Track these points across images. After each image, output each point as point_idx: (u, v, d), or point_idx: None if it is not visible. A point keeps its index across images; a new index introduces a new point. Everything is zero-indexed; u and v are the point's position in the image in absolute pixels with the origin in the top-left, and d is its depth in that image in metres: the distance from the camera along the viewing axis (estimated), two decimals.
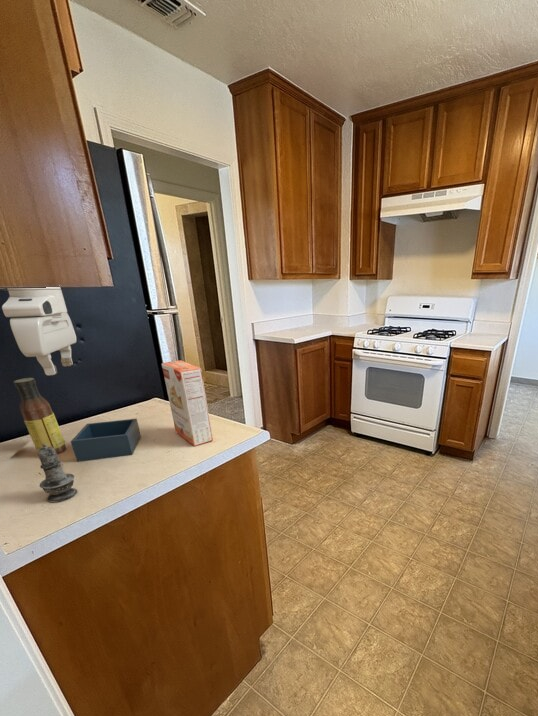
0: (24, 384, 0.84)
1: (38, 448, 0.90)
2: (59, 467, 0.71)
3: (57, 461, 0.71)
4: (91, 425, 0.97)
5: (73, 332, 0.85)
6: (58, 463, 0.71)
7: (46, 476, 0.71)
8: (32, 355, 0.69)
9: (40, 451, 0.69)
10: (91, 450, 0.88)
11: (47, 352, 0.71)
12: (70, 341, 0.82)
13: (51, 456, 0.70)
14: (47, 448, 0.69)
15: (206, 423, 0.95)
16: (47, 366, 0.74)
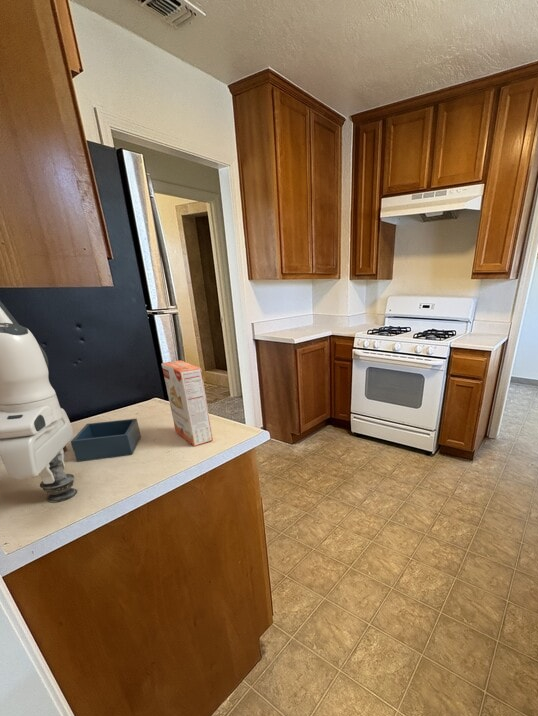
0: None
1: None
2: (59, 467, 0.71)
3: (57, 461, 0.71)
4: (91, 425, 0.97)
5: (70, 427, 0.78)
6: (58, 463, 0.71)
7: None
8: (22, 478, 0.62)
9: None
10: (91, 450, 0.88)
11: (39, 471, 0.63)
12: (66, 441, 0.75)
13: None
14: None
15: (206, 423, 0.95)
16: (45, 475, 0.68)
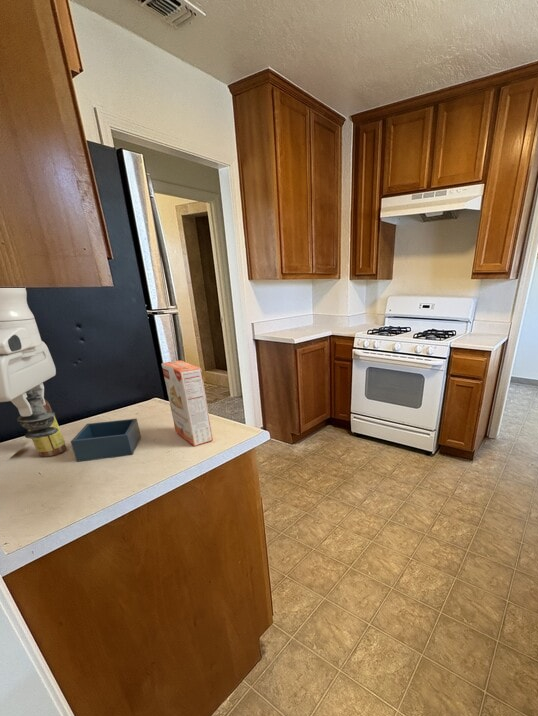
0: None
1: (38, 448, 0.90)
2: (38, 401, 0.67)
3: (36, 394, 0.66)
4: (91, 425, 0.97)
5: (52, 364, 0.73)
6: (37, 396, 0.66)
7: None
8: None
9: None
10: (91, 450, 0.88)
11: (14, 396, 0.59)
12: (47, 376, 0.70)
13: None
14: None
15: (206, 423, 0.95)
16: (22, 406, 0.64)
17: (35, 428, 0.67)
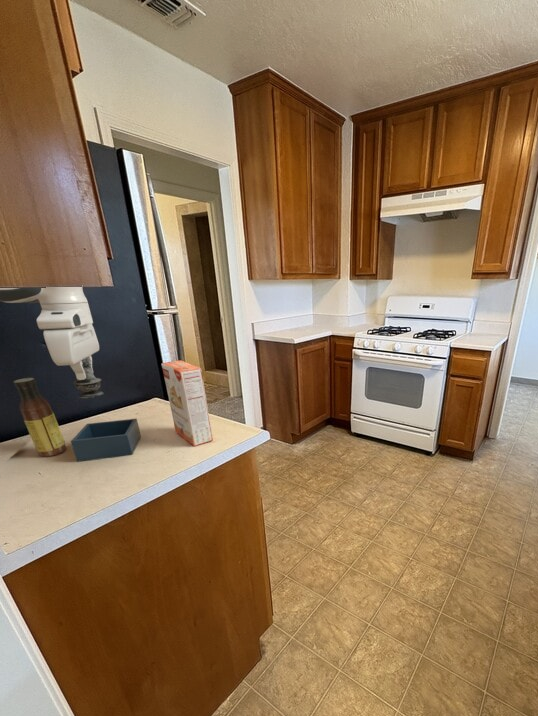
0: (24, 384, 0.84)
1: (38, 448, 0.90)
2: (89, 368, 0.84)
3: (88, 362, 0.84)
4: (91, 425, 0.97)
5: (97, 341, 0.91)
6: (89, 364, 0.84)
7: None
8: (63, 364, 0.75)
9: None
10: (91, 450, 0.88)
11: (76, 361, 0.76)
12: (94, 350, 0.88)
13: None
14: None
15: (206, 423, 0.95)
16: (79, 371, 0.81)
17: (87, 390, 0.84)
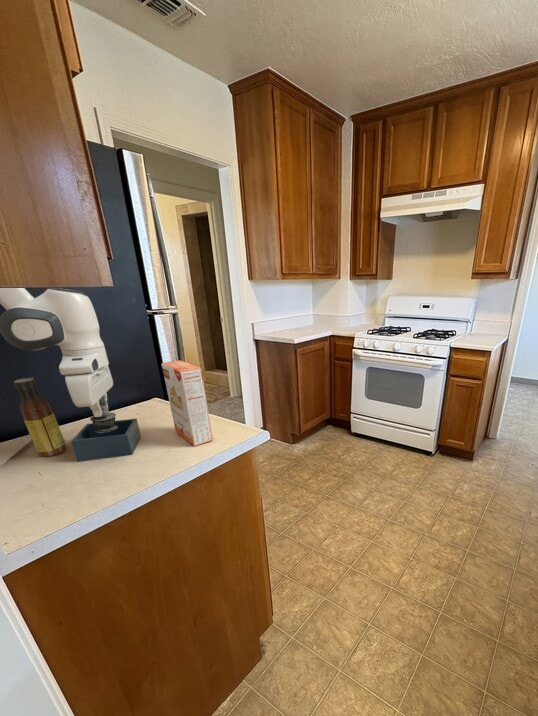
0: (24, 384, 0.84)
1: (38, 448, 0.90)
2: (105, 405, 0.90)
3: (104, 400, 0.90)
4: (91, 425, 0.97)
5: (111, 377, 0.97)
6: (104, 402, 0.90)
7: None
8: (83, 406, 0.81)
9: None
10: (91, 450, 0.88)
11: (94, 402, 0.82)
12: (109, 387, 0.94)
13: None
14: None
15: (206, 423, 0.95)
16: (96, 409, 0.88)
17: (103, 425, 0.91)
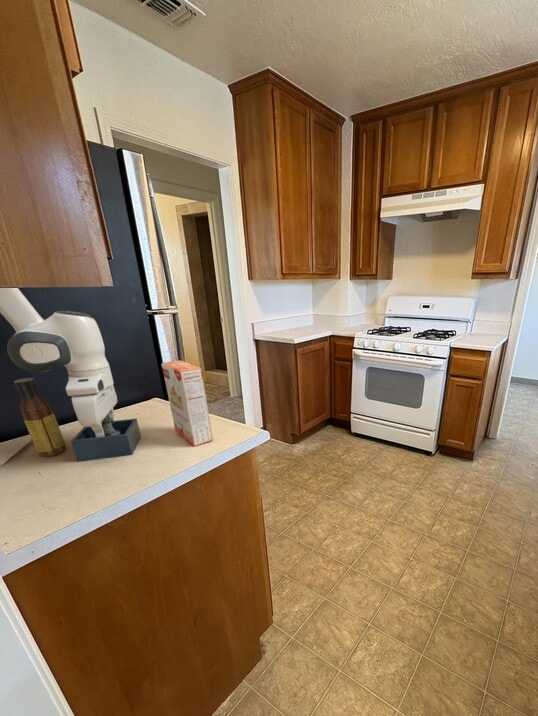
0: (24, 384, 0.84)
1: (38, 448, 0.90)
2: (110, 423, 0.92)
3: (109, 418, 0.92)
4: None
5: (115, 395, 0.99)
6: (109, 420, 0.92)
7: None
8: (88, 426, 0.83)
9: None
10: (91, 450, 0.88)
11: (100, 422, 0.84)
12: (113, 404, 0.96)
13: None
14: None
15: (206, 423, 0.95)
16: (98, 431, 0.87)
17: None
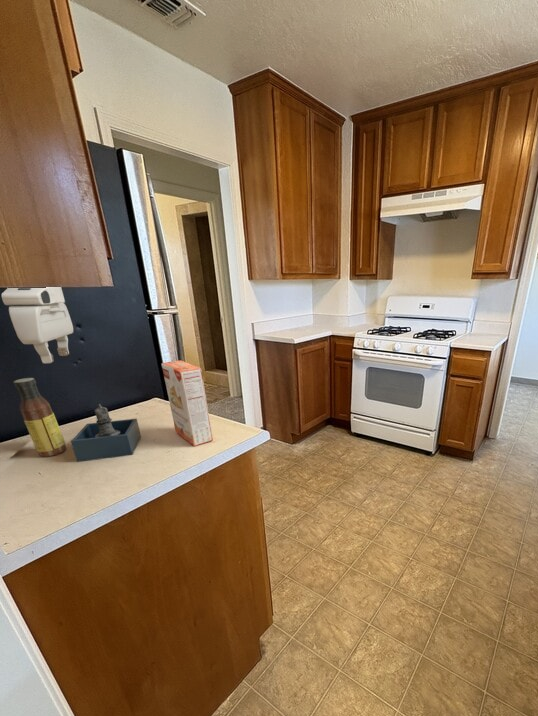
0: (24, 384, 0.84)
1: (38, 448, 0.90)
2: (110, 423, 0.92)
3: (109, 418, 0.92)
4: (91, 425, 0.97)
5: (70, 323, 0.87)
6: (109, 420, 0.92)
7: (100, 429, 0.92)
8: (30, 342, 0.71)
9: (97, 409, 0.90)
10: (91, 450, 0.88)
11: (44, 340, 0.73)
12: (67, 331, 0.84)
13: (105, 414, 0.91)
14: (102, 407, 0.91)
15: (206, 423, 0.95)
16: (44, 354, 0.76)
17: None
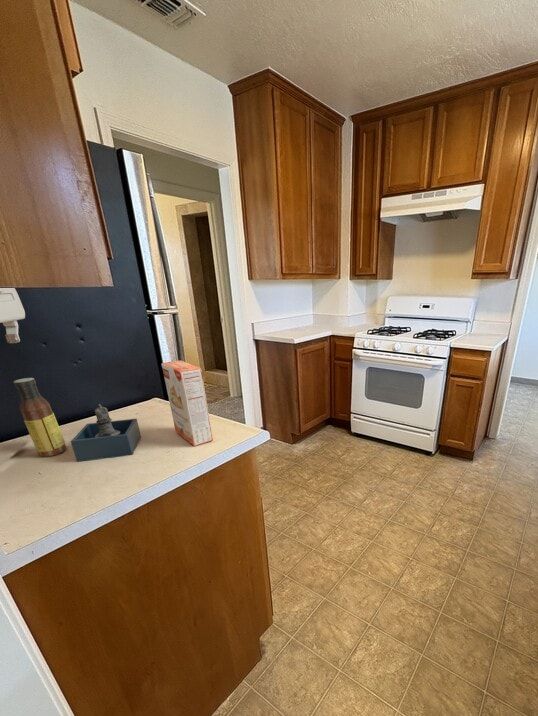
0: (24, 384, 0.84)
1: (38, 448, 0.90)
2: (110, 423, 0.92)
3: (109, 418, 0.92)
4: (91, 425, 0.97)
5: (21, 307, 0.79)
6: (109, 420, 0.92)
7: (100, 429, 0.92)
8: None
9: (97, 409, 0.90)
10: (91, 450, 0.88)
11: None
12: (16, 316, 0.77)
13: (105, 414, 0.91)
14: (102, 407, 0.91)
15: (206, 423, 0.95)
16: None
17: None
